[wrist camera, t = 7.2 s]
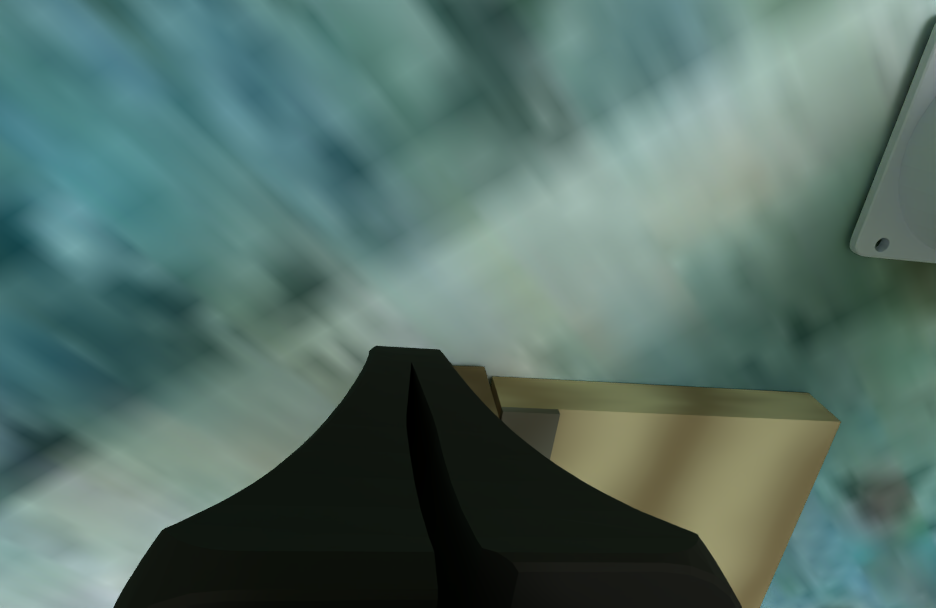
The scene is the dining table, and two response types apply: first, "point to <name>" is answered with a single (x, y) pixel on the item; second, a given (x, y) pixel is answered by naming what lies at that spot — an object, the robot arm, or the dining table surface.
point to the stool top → (685, 458)
